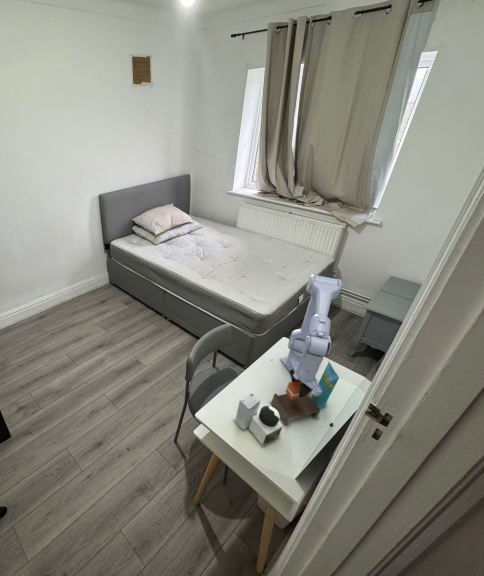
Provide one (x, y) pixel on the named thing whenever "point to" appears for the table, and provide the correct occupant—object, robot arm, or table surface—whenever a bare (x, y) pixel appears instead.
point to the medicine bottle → (266, 425)
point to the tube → (326, 386)
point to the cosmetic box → (247, 410)
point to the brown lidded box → (294, 407)
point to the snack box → (294, 389)
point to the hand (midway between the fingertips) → (298, 391)
